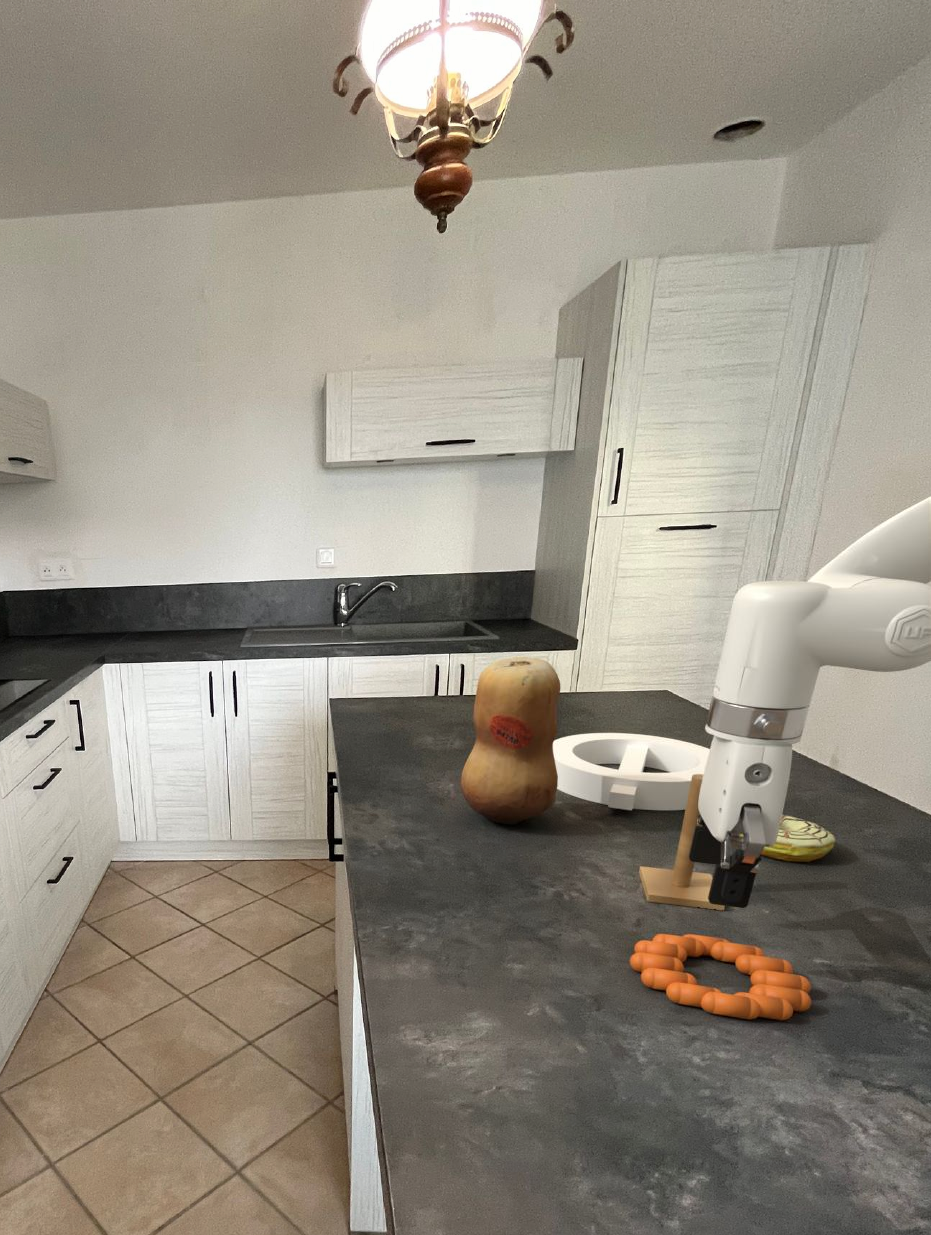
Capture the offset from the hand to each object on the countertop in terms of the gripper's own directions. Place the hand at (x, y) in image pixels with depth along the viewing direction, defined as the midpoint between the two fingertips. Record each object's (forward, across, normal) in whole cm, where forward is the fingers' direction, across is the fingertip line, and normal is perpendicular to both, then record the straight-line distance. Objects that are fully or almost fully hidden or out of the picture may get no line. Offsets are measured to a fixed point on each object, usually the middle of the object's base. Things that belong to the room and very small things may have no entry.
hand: (715, 882), depth 74 cm
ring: (+8, -5, 0) cm, 10 cm away
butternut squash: (+9, +33, +20) cm, 40 cm away
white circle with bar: (+8, +57, 0) cm, 57 cm away
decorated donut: (+8, +32, -16) cm, 36 cm away
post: (+8, +15, 0) cm, 17 cm away
